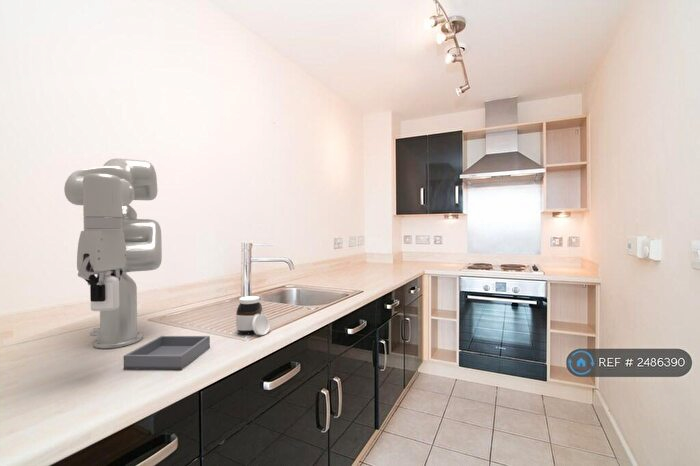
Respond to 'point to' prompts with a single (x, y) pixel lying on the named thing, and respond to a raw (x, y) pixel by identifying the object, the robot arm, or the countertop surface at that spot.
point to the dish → (167, 353)
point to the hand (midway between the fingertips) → (105, 298)
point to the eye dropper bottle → (108, 294)
